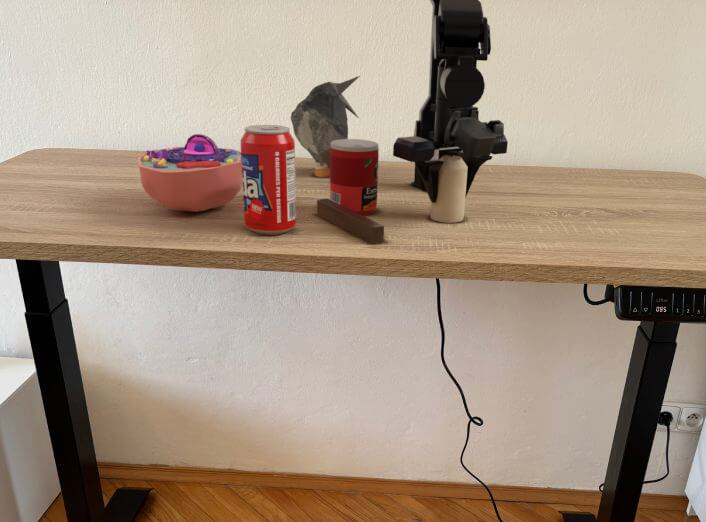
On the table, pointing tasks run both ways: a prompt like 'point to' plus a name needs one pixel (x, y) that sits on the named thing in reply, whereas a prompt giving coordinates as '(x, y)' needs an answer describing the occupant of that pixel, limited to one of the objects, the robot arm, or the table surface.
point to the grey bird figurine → (322, 122)
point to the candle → (450, 191)
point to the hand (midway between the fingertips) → (447, 200)
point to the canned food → (354, 174)
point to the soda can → (268, 179)
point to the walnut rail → (351, 221)
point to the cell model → (192, 175)
